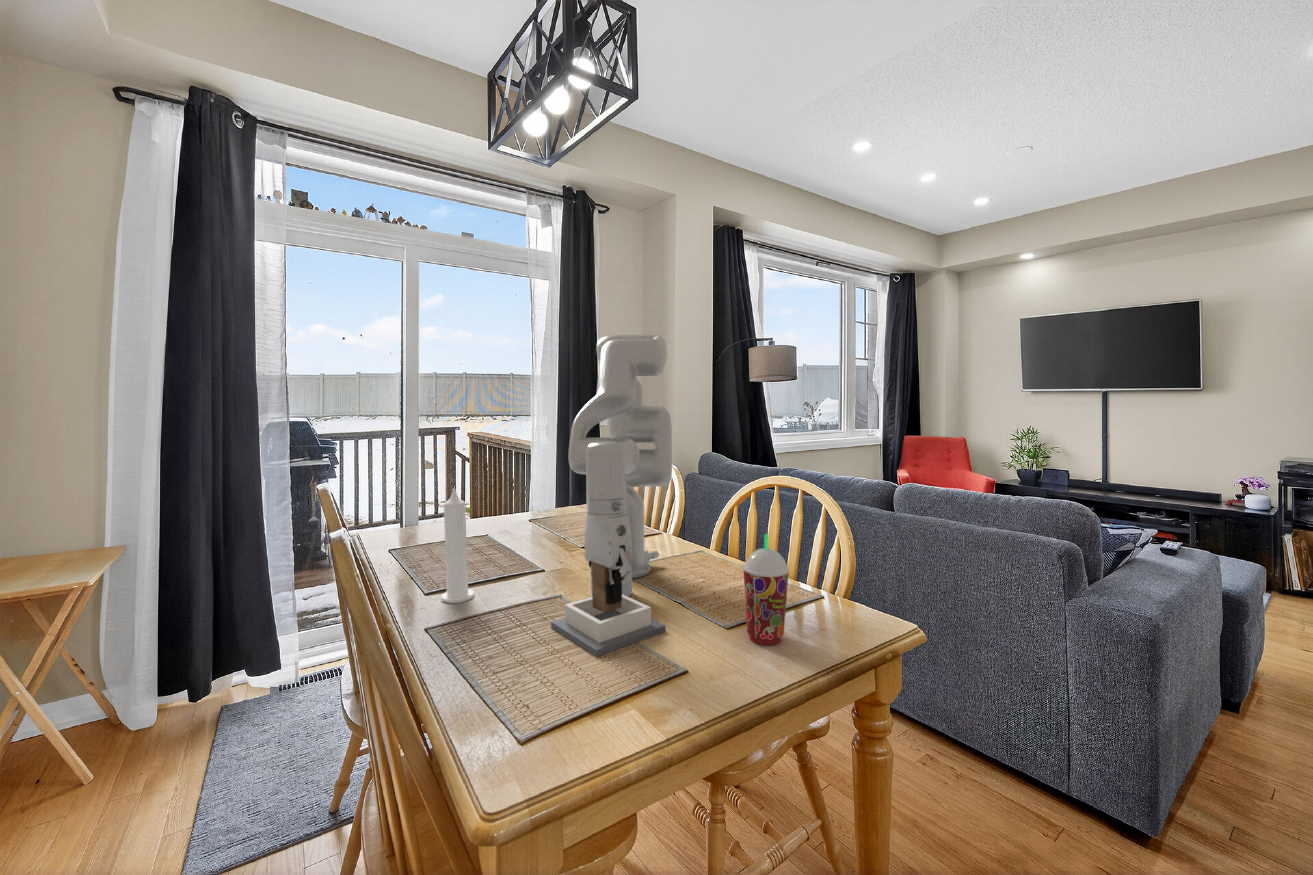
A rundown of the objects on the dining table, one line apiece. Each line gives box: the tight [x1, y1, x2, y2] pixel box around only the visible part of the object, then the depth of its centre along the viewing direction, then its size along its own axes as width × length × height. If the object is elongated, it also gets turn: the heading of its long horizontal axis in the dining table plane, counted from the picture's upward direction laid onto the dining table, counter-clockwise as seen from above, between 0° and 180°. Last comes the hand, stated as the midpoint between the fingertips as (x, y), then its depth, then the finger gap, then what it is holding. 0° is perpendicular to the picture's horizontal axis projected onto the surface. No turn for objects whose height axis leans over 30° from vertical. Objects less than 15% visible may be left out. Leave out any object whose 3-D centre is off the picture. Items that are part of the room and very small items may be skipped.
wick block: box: [591, 562, 621, 613], centre depth 109 cm, size 4×4×9 cm
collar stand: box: [550, 594, 666, 657], centre depth 110 cm, size 16×16×5 cm
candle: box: [440, 488, 475, 604], centre depth 126 cm, size 7×7×25 cm
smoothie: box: [742, 533, 790, 646], centre depth 105 cm, size 8×8×20 cm
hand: (607, 598), depth 109 cm, fingers closed on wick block, 4 cm apart
